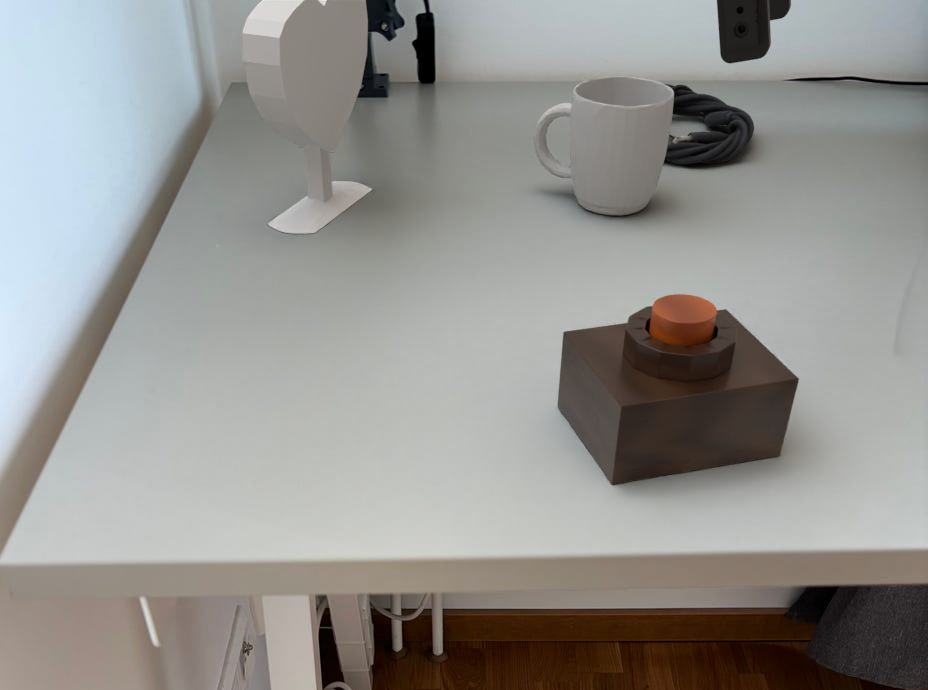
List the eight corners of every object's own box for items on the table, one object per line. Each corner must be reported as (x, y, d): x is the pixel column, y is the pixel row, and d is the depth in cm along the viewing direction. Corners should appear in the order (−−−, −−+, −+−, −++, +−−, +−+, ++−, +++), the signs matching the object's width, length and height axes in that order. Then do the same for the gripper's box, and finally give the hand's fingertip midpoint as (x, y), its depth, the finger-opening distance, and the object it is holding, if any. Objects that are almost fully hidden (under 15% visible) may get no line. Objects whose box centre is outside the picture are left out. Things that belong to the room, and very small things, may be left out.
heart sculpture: (336, 174, 109) (323, -33, 97) (381, 182, 107) (373, -27, 95) (255, 231, 98) (228, 7, 86) (303, 241, 97) (283, 14, 85)
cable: (641, 107, 125) (645, 66, 122) (764, 122, 121) (772, 79, 118) (602, 157, 113) (606, 112, 110) (737, 174, 109) (746, 128, 106)
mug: (671, 195, 105) (687, 83, 98) (643, 228, 99) (657, 111, 92) (548, 174, 109) (555, 65, 102) (514, 205, 103) (519, 92, 96)
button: (695, 316, 71) (699, 290, 70) (723, 344, 68) (728, 318, 67) (638, 323, 70) (642, 298, 69) (665, 352, 67) (668, 326, 66)
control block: (712, 382, 79) (730, 283, 74) (780, 456, 72) (806, 352, 67) (557, 406, 76) (564, 305, 71) (611, 485, 69) (624, 379, 64)
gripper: (818, -447, 38) (825, 61, 47) (847, -421, 48) (848, -6, 57) (607, -376, 41) (654, 89, 50) (677, -366, 51) (705, 20, 60)
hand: (758, 38), depth 54 cm, fingers open, 8 cm apart
